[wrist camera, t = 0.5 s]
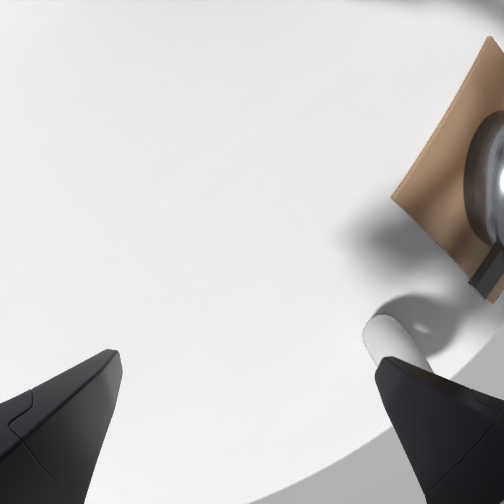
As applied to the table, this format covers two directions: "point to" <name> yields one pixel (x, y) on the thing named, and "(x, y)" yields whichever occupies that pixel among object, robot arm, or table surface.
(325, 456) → the table surface
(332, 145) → the table surface
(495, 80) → the walnut trivet
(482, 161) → the cooking pot
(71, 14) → the table surface
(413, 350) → the donut
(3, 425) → the robot arm
